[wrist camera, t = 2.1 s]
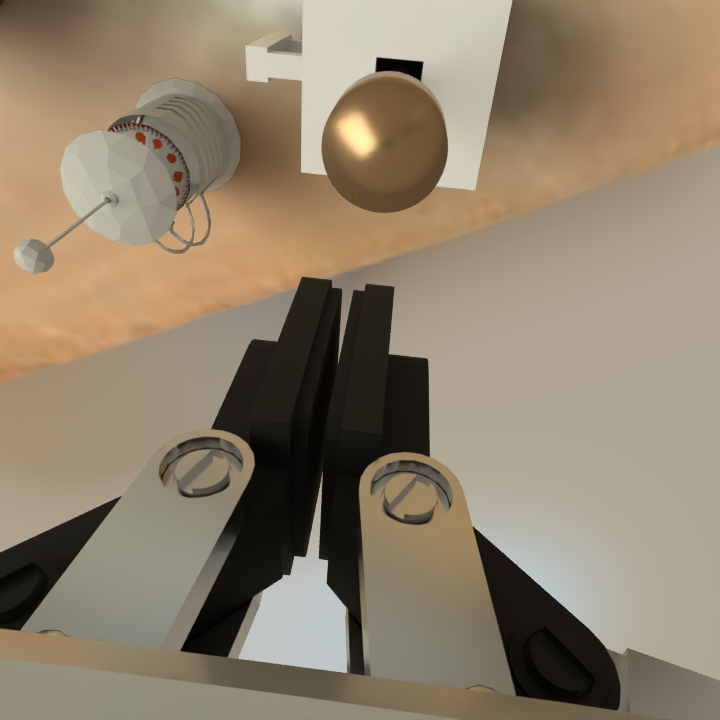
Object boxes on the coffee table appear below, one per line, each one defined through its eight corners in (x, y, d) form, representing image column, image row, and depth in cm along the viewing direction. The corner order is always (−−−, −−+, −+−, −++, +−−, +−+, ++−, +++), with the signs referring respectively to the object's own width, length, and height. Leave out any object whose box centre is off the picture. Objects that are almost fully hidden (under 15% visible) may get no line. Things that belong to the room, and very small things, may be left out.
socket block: (492, -28, 40) (517, -23, 30) (463, 138, 47) (474, 190, 37) (279, -47, 41) (228, -49, 30) (281, 120, 48) (240, 166, 37)
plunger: (443, 34, 35) (458, 88, 20) (431, 119, 38) (437, 218, 23) (364, 27, 35) (323, 75, 20) (358, 112, 38) (319, 206, 23)
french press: (201, 57, 45) (24, 135, 25) (271, 186, 51) (173, 334, 31) (109, 108, 48) (-114, 215, 28) (185, 225, 54) (45, 382, 34)
